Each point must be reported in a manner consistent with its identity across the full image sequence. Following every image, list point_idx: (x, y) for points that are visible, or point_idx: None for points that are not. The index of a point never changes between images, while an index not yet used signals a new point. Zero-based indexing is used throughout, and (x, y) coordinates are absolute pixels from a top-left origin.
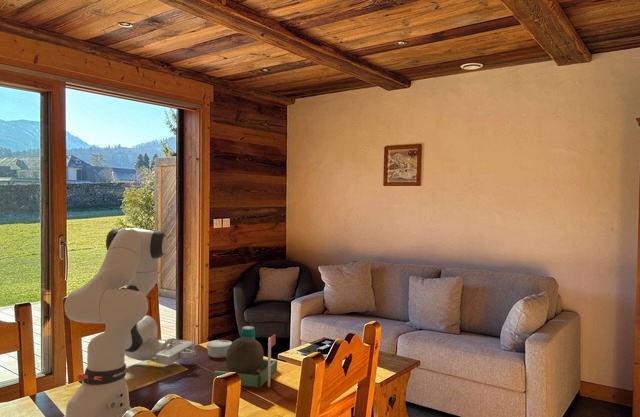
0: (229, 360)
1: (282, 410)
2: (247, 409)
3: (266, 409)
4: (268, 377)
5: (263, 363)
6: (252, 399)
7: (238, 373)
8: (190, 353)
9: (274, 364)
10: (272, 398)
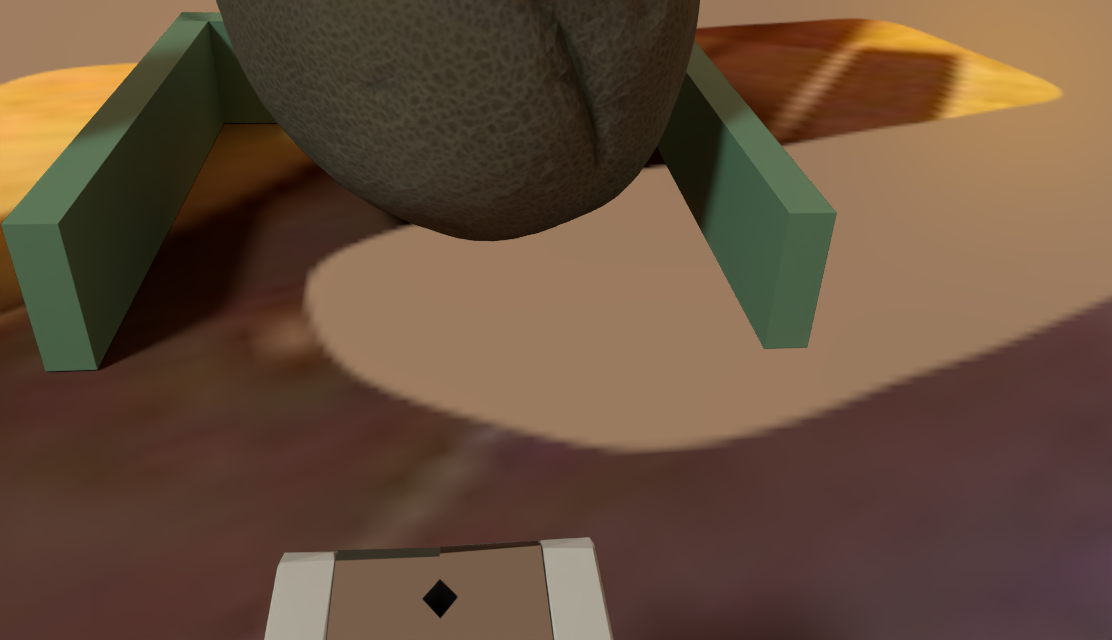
0: (691, 6)
1: (899, 28)
2: (1045, 92)
3: (953, 55)
4: None
5: (189, 92)
6: (895, 102)
7: (709, 89)
8: (598, 593)
9: None
10: (792, 60)
